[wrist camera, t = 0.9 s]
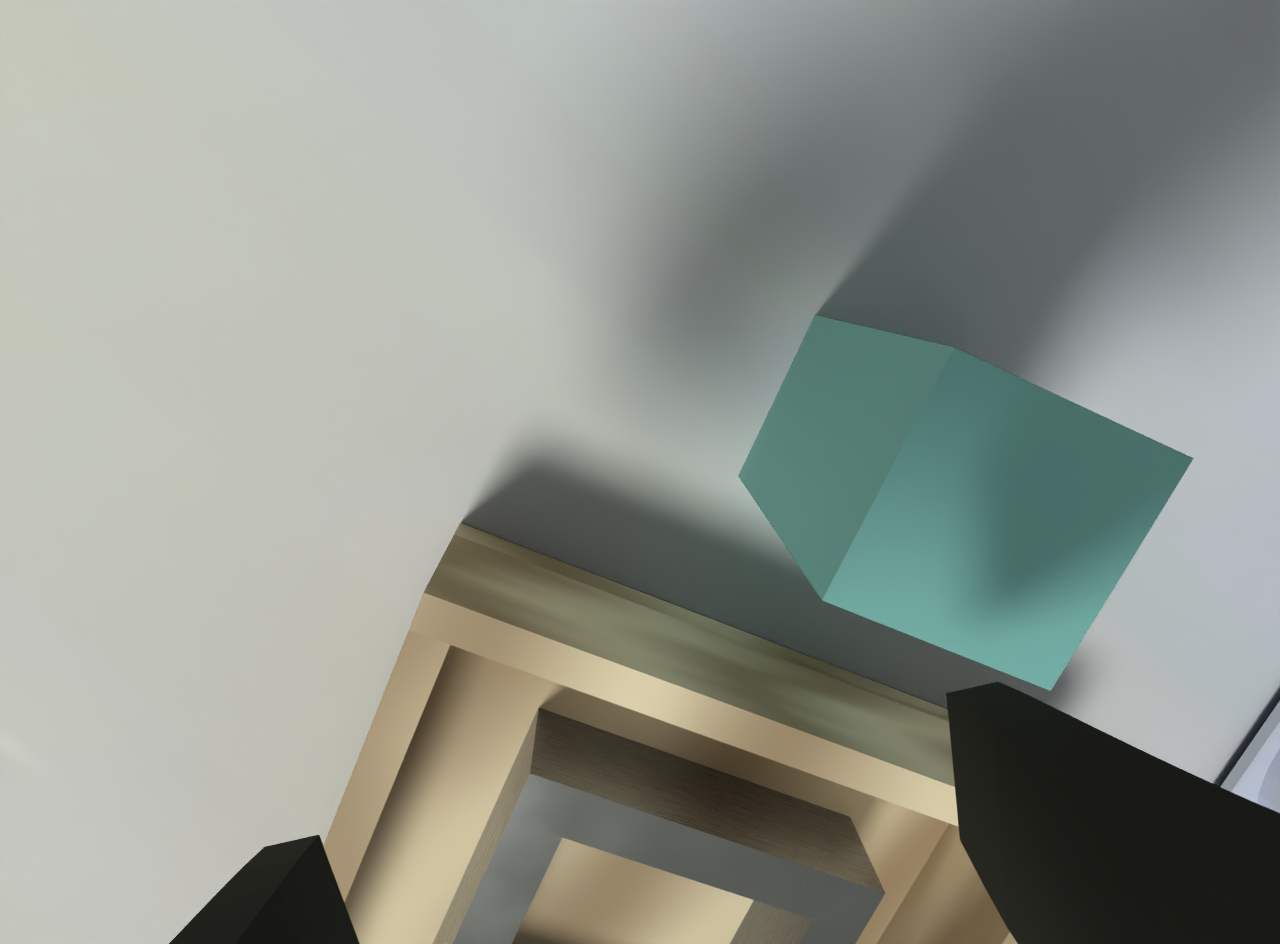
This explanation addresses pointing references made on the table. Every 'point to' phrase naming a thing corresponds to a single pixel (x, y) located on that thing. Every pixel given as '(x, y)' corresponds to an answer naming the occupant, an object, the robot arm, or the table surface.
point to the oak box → (646, 713)
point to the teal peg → (953, 496)
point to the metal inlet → (662, 839)
